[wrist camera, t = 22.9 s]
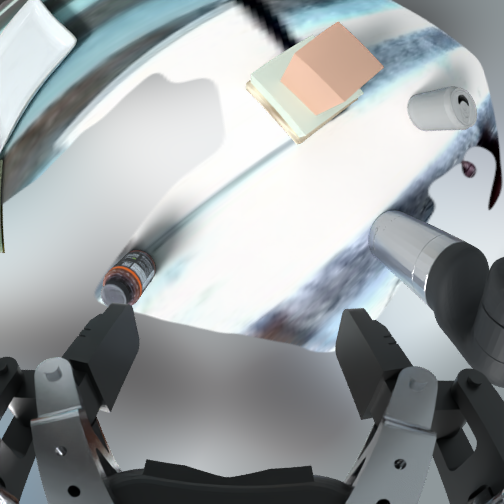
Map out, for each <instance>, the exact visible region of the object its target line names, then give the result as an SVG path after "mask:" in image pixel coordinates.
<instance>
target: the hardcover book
mask: <svg viewBox="0 0 504 504" xmlns="http://www.w3.org/2000/svg"><path fill="white" fill-rule="evenodd" d="M2 164H3V160H0V253H1V252H2V253H5V248H4V234H3V205H1V177H2Z"/></svg>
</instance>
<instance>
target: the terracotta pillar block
mask: <svg viewBox="0 0 504 504" xmlns="http://www.w3.org/2000/svg"><path fill="white" fill-rule="evenodd" d="M383 68H384V67H383V66H382V64H381V63H380V62H379V61H378V60H377V59H376V58H375V57H374V56H373V55H372V54H371V53H370V51H369V50H368V49H367V48H366V47H365V46H364V45H363V44H362V43H361V42H360V41H359V40H358V39H357V38H356V37H354V36H353V35H352V34H351V33H350V32H349V31H348V30H347V29H346V28H345V27H344V26H343V25H342V24H340V23H339V22H337V23H335V24H334V25H332V26H331V27H329V28H328V29H326V30H325V31H324V32H322V33H321V34H319V35H318V36H317V37H315V38H314V39H313V40H311V41H310V42H309V43H307V44H306V45H305V46H303V47H302V48H301V49H299V50H298V51H297V52H296V53H294V55H293V57H292V59H291V61H290V63H289V65H288V67H287V68H286V70H285V72H284V74H283V76H282V78H281V80H280V82H282V83H283V84H284V85H285V86H286V87H287V88H288V89H289V90H290V91H291V92H292V93H294V94H295V95H296V96H297V97H298V98H299V99H300V100H301V101H302V102H303V103H304V104H305V105H306V106H307V107H308V108H309V109H310V110H311V111H312V112H313V113H314V114H315V115H318V114H320V113H322V112H324V111H326V110H328V109H330V108H333V107H335V106H337V105H339V104H341V103H343V102H345V101H346V100H347V99H348V98H349V97H351V96H352V95H353V94H354V93H355V92H356V91H357V90H358V89H360V88H361V87H362V86H363V85H364V84H365V83H366V82H368V81H369V80H370V79H371V78H372V77H373V76H374V75H376V74H377V73H378V72H379V71H380V70H381V69H383Z"/></svg>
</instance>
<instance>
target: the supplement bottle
mask: <svg viewBox="0 0 504 504" xmlns="http://www.w3.org/2000/svg"><path fill="white" fill-rule="evenodd" d="M155 270H156V269H155V263H154V261H153V259H152V258H151V256H150V255H149V254H147V253H146V252H144V251H140V250H134V251H131V252H129V253H128V254H127V255H125V256H124V257H123V258H122V259H121V260H120V261H119V262H118V263H117V264H116V265H115V266H114V267H113V268H112V269H111V270H109V272H108V273H107V274H106V275H105V277H104V280H103V288H102V290H101V298H102V300H103V302H104V304H105V305H106V306H107V307H109V305H110V304H111V303H122V304H130V305H131V306H132V305H133V304H135V303H136V302H137V301H138V299H139V298H140V297H141V295H142V293H143V292H144V290H145V289H146V287H147V286H148V284H149V283H150V282H151V280H152V279H153V277H154V275H155Z"/></svg>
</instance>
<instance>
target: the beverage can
mask: <svg viewBox="0 0 504 504" xmlns="http://www.w3.org/2000/svg"><path fill="white" fill-rule="evenodd" d="M408 114H409V117H410V120H411V121H412V123H413V124H414V125H415V126H416V127H417V128H418V129H420V130H423V131H434V130H466V129H468V128H469V127H472V126H473V125H474V124H475V122H476V119H477V109H476V105H475V102H474V100H473V98H472V97H471V95H470V94H469V93H468V92H467V91H466V90H464V89H462V88H458V87H447V88H443V89H438V90H434V91H430V92H426V93H422V94H418V95H414V96H413V97H411V99H410V100H409V102H408Z"/></svg>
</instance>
